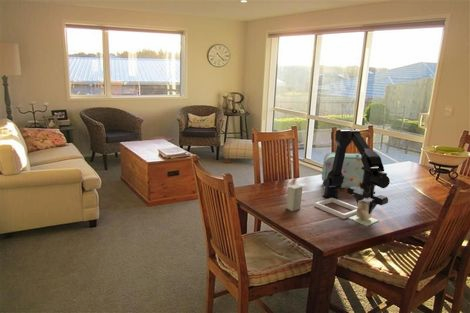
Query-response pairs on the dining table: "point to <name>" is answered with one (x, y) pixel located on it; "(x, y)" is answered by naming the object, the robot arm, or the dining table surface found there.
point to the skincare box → (294, 197)
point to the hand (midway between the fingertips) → (364, 212)
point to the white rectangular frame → (332, 211)
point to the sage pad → (362, 221)
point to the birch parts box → (363, 209)
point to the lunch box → (346, 169)
